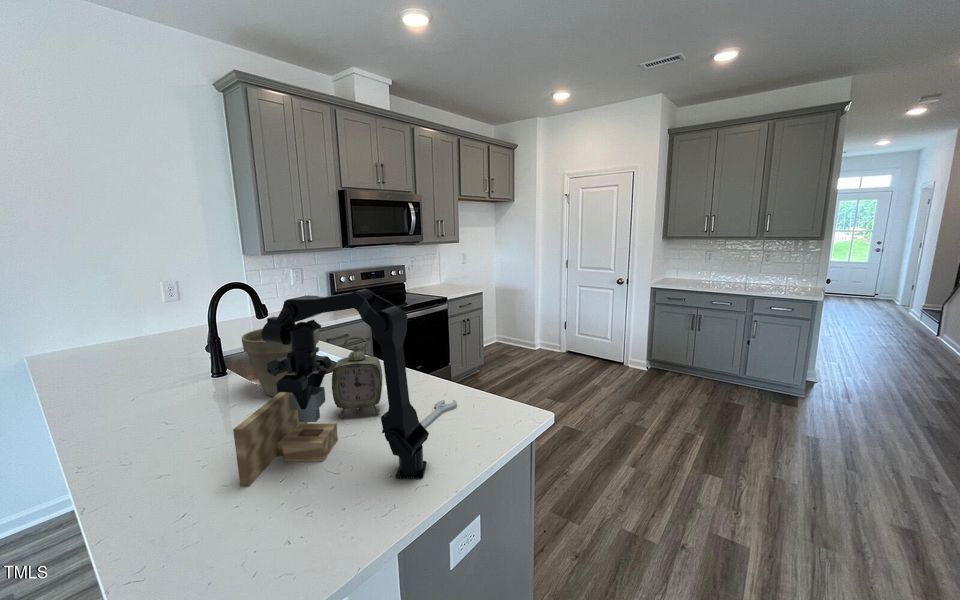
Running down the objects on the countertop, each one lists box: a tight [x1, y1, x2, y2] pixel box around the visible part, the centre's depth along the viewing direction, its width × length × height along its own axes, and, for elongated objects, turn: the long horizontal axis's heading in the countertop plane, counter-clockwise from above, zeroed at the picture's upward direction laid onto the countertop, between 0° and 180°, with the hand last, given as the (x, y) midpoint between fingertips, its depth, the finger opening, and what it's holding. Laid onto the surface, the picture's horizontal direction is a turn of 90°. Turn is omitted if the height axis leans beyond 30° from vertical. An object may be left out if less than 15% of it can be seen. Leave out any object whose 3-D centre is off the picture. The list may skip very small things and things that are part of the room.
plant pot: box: [241, 328, 320, 397], centre depth 144 cm, size 25×25×22 cm
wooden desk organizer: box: [232, 392, 339, 487], centre depth 104 cm, size 30×15×14 cm, turn 179°
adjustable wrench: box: [419, 399, 457, 430], centre depth 122 cm, size 25×6×2 cm, turn 152°
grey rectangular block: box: [289, 386, 326, 423], centre depth 103 cm, size 5×7×8 cm
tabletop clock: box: [331, 336, 383, 419], centre depth 124 cm, size 14×9×25 cm, turn 101°
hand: (308, 404), depth 103 cm, fingers closed on grey rectangular block, 5 cm apart
